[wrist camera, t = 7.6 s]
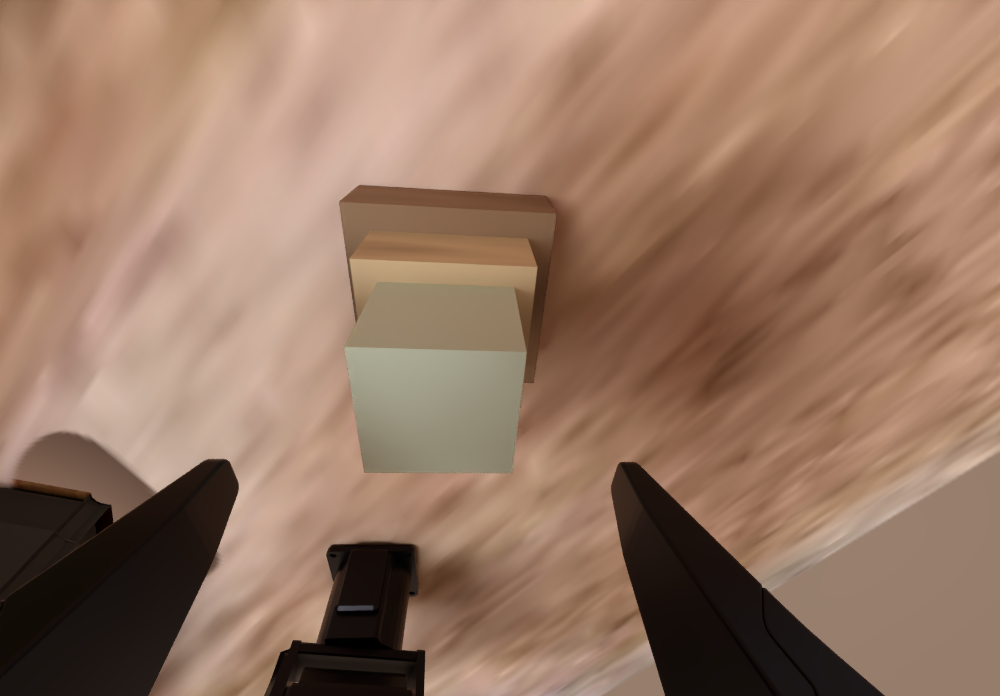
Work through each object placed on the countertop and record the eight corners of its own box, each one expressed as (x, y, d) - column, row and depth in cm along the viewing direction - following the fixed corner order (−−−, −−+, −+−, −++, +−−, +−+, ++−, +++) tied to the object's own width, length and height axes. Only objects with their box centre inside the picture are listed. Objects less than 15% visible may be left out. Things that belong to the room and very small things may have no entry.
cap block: (504, 392, 16) (511, 473, 13) (388, 390, 16) (364, 472, 12) (514, 287, 14) (526, 351, 10) (377, 281, 13) (344, 346, 10)
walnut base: (527, 349, 22) (533, 383, 20) (376, 345, 22) (363, 379, 19) (545, 195, 18) (556, 213, 15) (358, 185, 17) (338, 201, 15)
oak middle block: (514, 365, 19) (520, 407, 17) (383, 362, 19) (369, 405, 16) (527, 238, 16) (537, 267, 13) (370, 230, 15) (349, 258, 13)
